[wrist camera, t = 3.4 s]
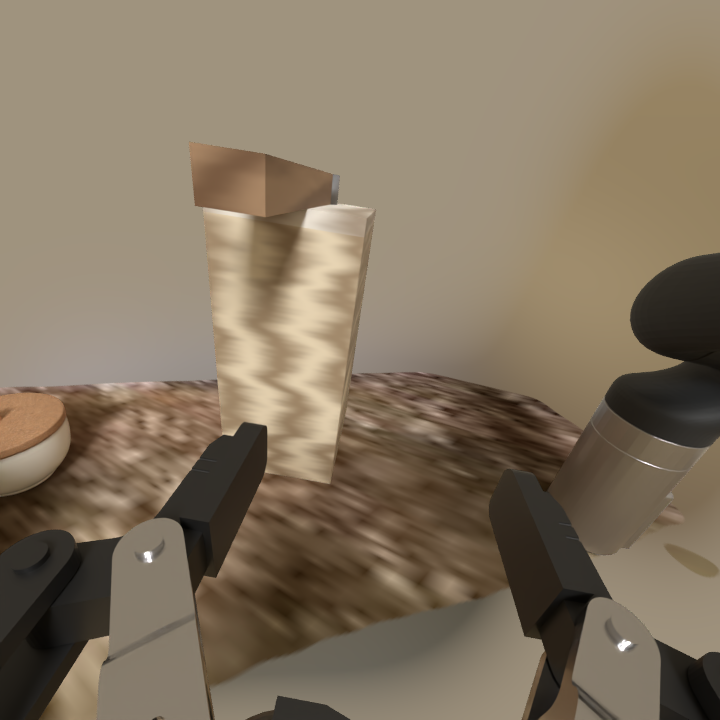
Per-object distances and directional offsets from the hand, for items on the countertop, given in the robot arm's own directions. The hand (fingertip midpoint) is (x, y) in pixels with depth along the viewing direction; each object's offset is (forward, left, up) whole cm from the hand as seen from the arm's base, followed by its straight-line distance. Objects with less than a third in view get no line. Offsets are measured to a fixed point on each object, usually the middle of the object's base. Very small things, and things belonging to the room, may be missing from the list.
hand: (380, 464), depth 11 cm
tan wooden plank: (+10, -24, +6) cm, 26 cm away
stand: (+10, -29, -26) cm, 40 cm away
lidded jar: (+38, -15, -26) cm, 49 cm away
